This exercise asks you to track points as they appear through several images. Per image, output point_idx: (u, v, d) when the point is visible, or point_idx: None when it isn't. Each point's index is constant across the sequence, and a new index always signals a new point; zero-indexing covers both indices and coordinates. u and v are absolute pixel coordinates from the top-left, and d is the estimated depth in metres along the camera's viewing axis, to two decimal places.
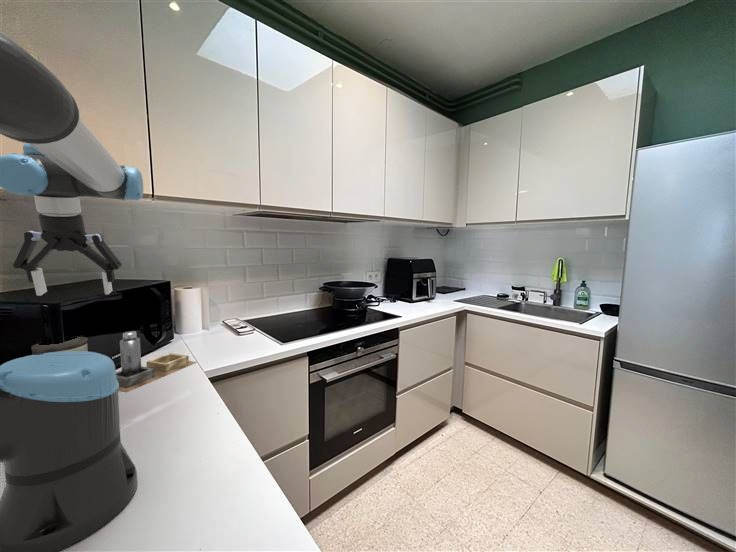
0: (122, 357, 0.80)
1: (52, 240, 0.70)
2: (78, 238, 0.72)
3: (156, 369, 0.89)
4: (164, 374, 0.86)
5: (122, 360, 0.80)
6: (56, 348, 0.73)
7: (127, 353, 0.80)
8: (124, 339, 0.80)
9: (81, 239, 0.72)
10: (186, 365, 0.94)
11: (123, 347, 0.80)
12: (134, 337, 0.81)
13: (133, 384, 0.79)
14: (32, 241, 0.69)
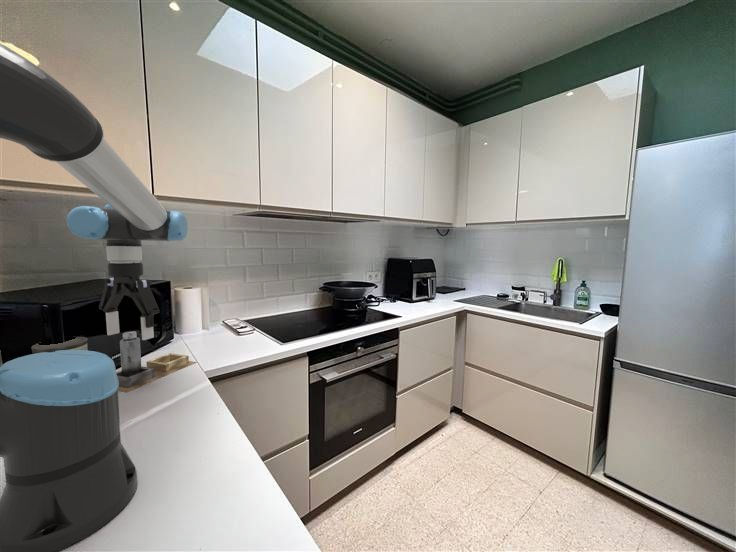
0: (122, 357, 0.80)
1: (115, 285, 0.79)
2: (130, 283, 0.79)
3: (156, 369, 0.89)
4: (164, 374, 0.86)
5: (122, 360, 0.80)
6: (56, 348, 0.73)
7: (127, 353, 0.80)
8: (124, 339, 0.80)
9: (131, 284, 0.78)
10: (186, 365, 0.94)
11: (123, 347, 0.80)
12: (134, 337, 0.81)
13: (133, 384, 0.79)
14: (109, 286, 0.81)
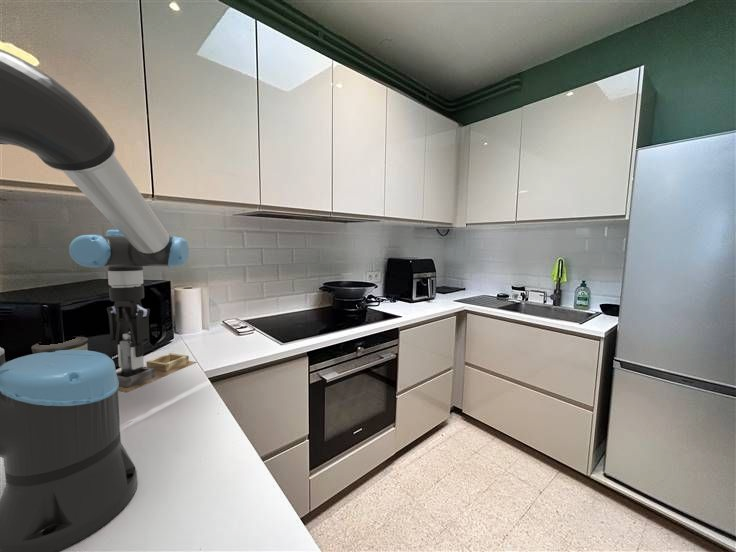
0: (122, 357, 0.80)
1: (116, 309, 0.79)
2: (131, 307, 0.79)
3: (156, 369, 0.89)
4: (164, 374, 0.86)
5: (122, 360, 0.80)
6: (56, 348, 0.73)
7: (127, 353, 0.80)
8: (124, 339, 0.80)
9: (132, 309, 0.79)
10: (186, 365, 0.94)
11: (122, 347, 0.80)
12: None
13: (133, 384, 0.79)
14: (113, 314, 0.82)
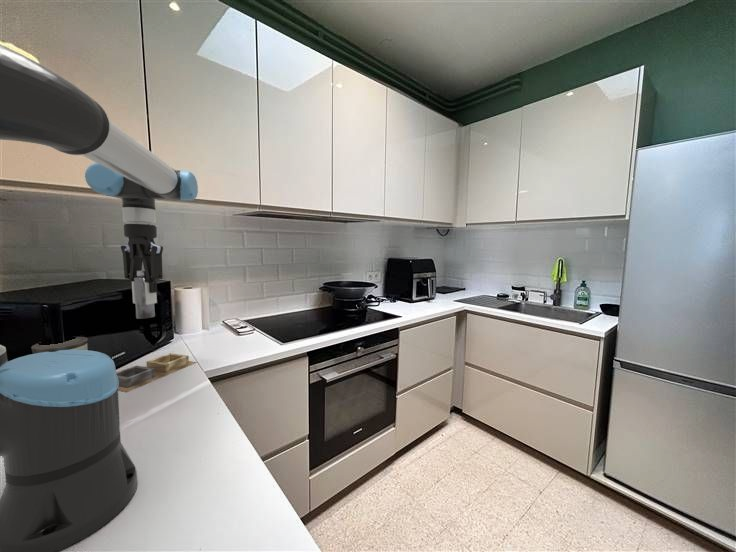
0: (136, 293, 0.83)
1: (130, 246, 0.83)
2: (145, 244, 0.82)
3: (156, 369, 0.89)
4: (164, 374, 0.86)
5: (136, 296, 0.83)
6: (56, 348, 0.73)
7: (141, 289, 0.83)
8: (138, 276, 0.83)
9: (146, 245, 0.82)
10: (186, 365, 0.94)
11: (137, 283, 0.83)
12: None
13: (133, 384, 0.79)
14: (127, 252, 0.85)
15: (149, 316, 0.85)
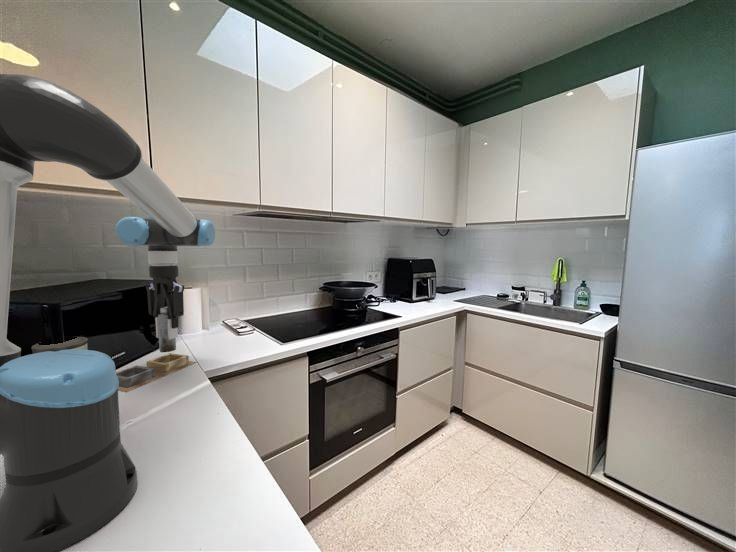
0: (160, 328, 0.90)
1: (154, 286, 0.90)
2: (168, 283, 0.89)
3: (156, 369, 0.89)
4: (164, 374, 0.86)
5: (160, 331, 0.90)
6: (56, 348, 0.73)
7: (164, 325, 0.90)
8: (161, 312, 0.90)
9: (169, 285, 0.89)
10: (186, 365, 0.94)
11: (160, 319, 0.90)
12: None
13: (133, 384, 0.79)
14: (151, 290, 0.92)
15: (171, 349, 0.92)
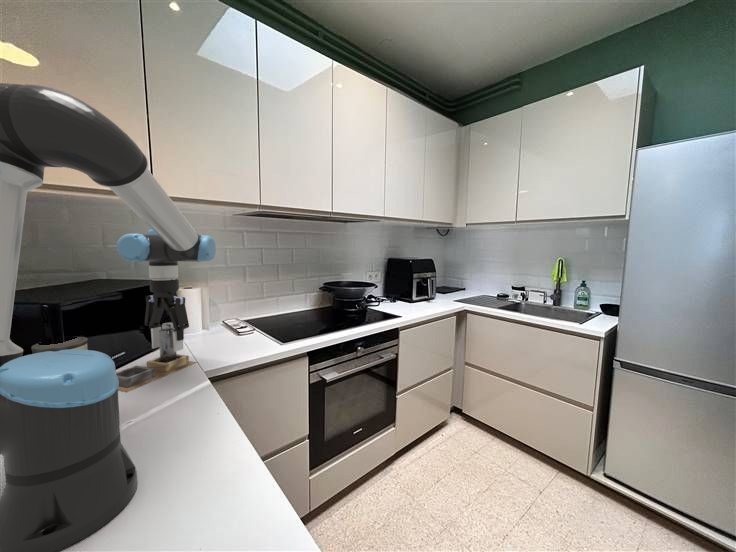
0: (161, 345, 0.90)
1: (155, 299, 0.90)
2: (169, 298, 0.89)
3: (156, 369, 0.89)
4: (164, 374, 0.86)
5: (161, 347, 0.90)
6: (56, 348, 0.73)
7: (166, 341, 0.90)
8: (163, 329, 0.91)
9: (170, 299, 0.89)
10: (186, 365, 0.94)
11: (162, 336, 0.90)
12: (171, 327, 0.92)
13: (133, 384, 0.79)
14: (150, 302, 0.92)
15: None
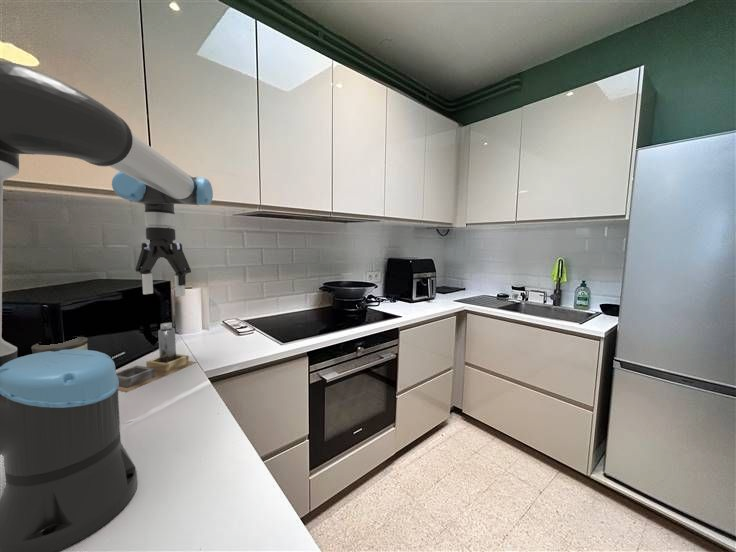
0: (160, 345, 0.90)
1: (151, 247, 0.89)
2: (165, 246, 0.88)
3: (156, 369, 0.89)
4: (164, 374, 0.86)
5: (160, 348, 0.90)
6: (56, 348, 0.73)
7: (165, 341, 0.90)
8: (162, 329, 0.91)
9: (166, 247, 0.88)
10: (186, 365, 0.94)
11: (161, 336, 0.90)
12: (170, 327, 0.92)
13: (133, 384, 0.79)
14: (145, 250, 0.91)
15: None
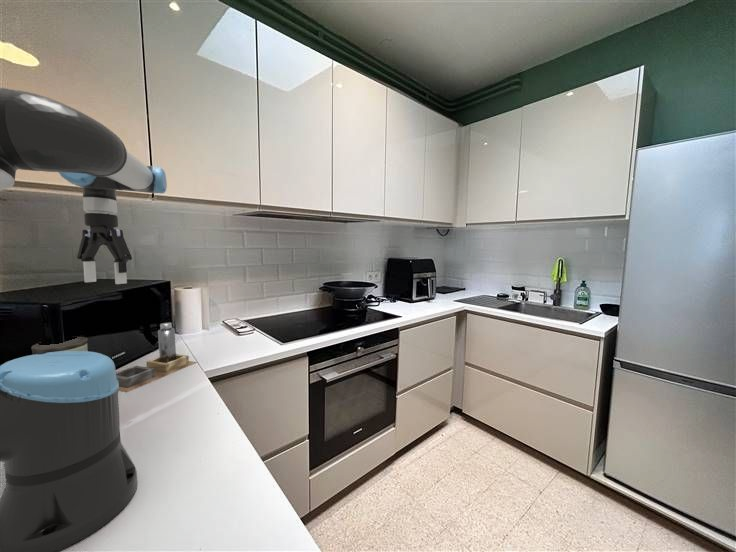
0: (160, 345, 0.90)
1: (91, 234, 0.87)
2: (105, 232, 0.86)
3: (156, 369, 0.89)
4: (164, 374, 0.86)
5: (160, 348, 0.90)
6: (56, 348, 0.73)
7: (165, 341, 0.90)
8: (162, 329, 0.91)
9: (106, 233, 0.86)
10: (186, 365, 0.94)
11: (161, 336, 0.90)
12: (170, 327, 0.92)
13: (133, 384, 0.79)
14: (86, 237, 0.89)
15: None
